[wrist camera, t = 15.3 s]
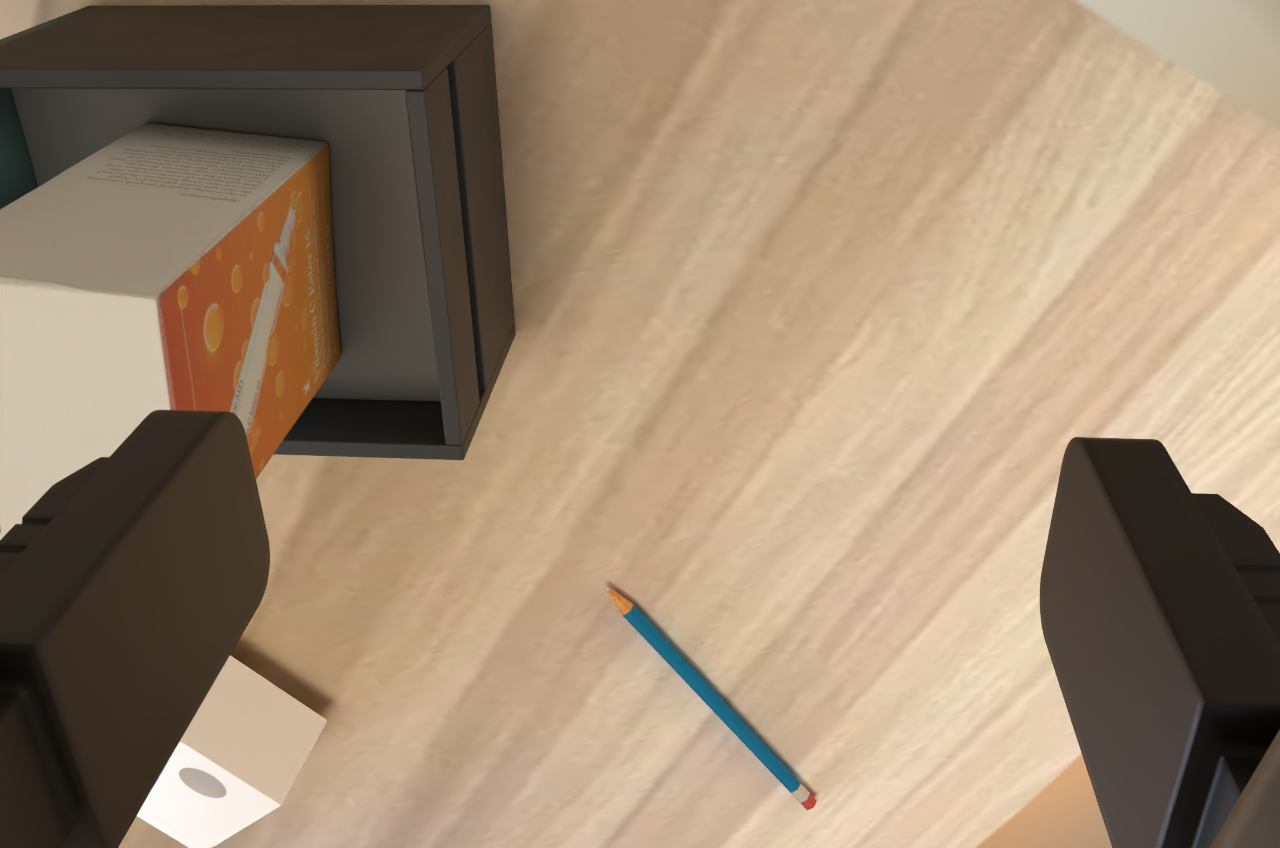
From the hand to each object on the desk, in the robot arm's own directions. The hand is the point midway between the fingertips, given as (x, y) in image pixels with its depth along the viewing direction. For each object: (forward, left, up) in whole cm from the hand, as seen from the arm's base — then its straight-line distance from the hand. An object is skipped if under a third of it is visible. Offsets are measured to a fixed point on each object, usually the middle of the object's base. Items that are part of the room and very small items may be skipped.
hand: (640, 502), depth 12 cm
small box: (+8, -16, -27) cm, 33 cm away
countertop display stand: (+8, -16, -34) cm, 39 cm away
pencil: (+34, 0, -34) cm, 48 cm away
